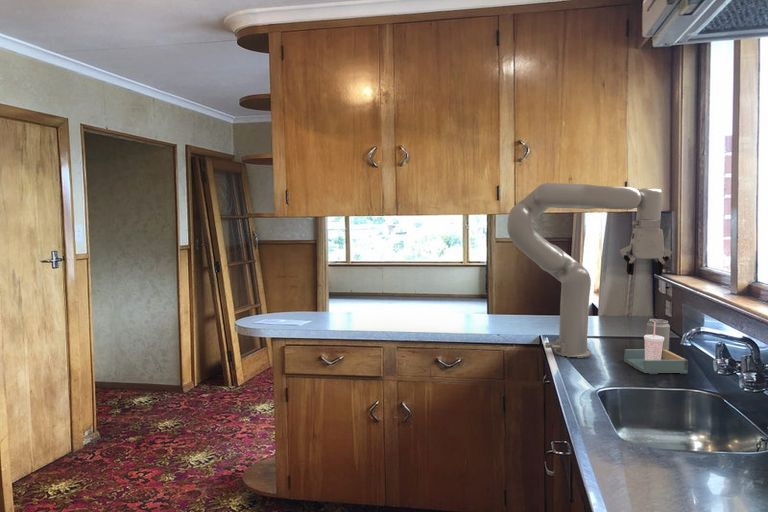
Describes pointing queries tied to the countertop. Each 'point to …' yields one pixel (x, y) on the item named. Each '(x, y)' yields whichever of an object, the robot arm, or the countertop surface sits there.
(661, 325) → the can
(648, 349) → the beverage cup
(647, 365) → the tray
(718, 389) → the countertop surface
